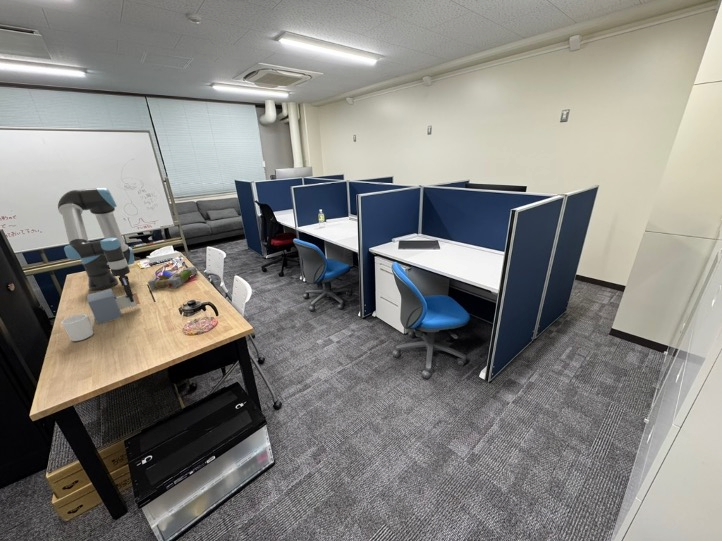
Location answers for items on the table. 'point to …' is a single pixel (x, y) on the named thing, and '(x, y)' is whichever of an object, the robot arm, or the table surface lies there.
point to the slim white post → (125, 301)
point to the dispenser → (104, 306)
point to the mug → (78, 327)
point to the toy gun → (172, 279)
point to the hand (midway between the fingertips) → (133, 305)
